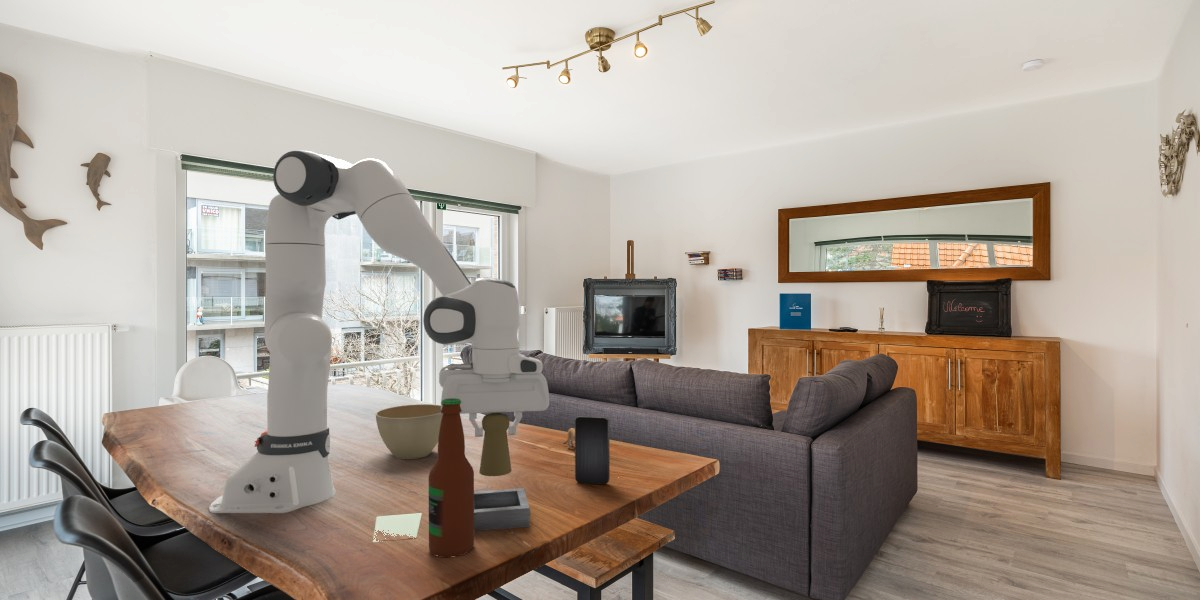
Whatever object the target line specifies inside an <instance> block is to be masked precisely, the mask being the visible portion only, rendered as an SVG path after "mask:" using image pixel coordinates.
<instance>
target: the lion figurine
mask: <svg viewBox="0 0 1200 600" xmlns="http://www.w3.org/2000/svg"><path fill="white" fill-rule="evenodd" d="M574 442H575V427H570V428H569V429H568V431H567V438H566V441H564V442H563V443H562V444H563V445H567V447H566V448H567V449H569V450H570V449H572V448H571V446H575V443H574Z"/></svg>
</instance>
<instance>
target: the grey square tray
mask: <svg viewBox="0 0 1200 600" xmlns="http://www.w3.org/2000/svg"><path fill="white" fill-rule="evenodd" d="M530 511H531V510H530V505H529V501H528V497H527V494H526V490H525V488H524V487H518V488H517V487H515V488H505V489H504V488H503V489H492V490H491V489H489V490H477V491H474V532H479V531H490V530H491V531H492V530H505V529H506V530H507V529H515V528H530V525H531V524H530V523H531V522H530V521H531V517H530V515H531V514H530V513H531V512H530Z"/></svg>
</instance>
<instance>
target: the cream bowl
mask: <svg viewBox="0 0 1200 600" xmlns="http://www.w3.org/2000/svg"><path fill="white" fill-rule="evenodd" d="M442 416H443V413H441V404H431V403H429V404H427V403H426V404H423V403H422V404H421V403H420V404H417V403H416V404H408V405H406V404H404V405H397V406H391V407H387V408H384V409H380V410H378V411H376V413H375V421H376V426H377V430H378V433H379V435H380V438H381V440H382V442H383V444H384V445H385V446H386V447H387V450H389V452H390V453H391V454H392V455H393V456H394V457H396V458H397V459H400V460H416V459H421V458H424V457H427V456H429V455H430V454H431V453H432V451H433V450H434V449H435V448H436V446H437V445H438V437H439V431H440V425H441V420H442Z"/></svg>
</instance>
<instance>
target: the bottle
mask: <svg viewBox="0 0 1200 600" xmlns="http://www.w3.org/2000/svg"><path fill="white" fill-rule="evenodd" d="M441 404H442V410H441V413H443V416H442V420H441V425H440V431H439V437H438V443H437V458H436V460H435V462H434V463H433V465H432V466H431V468H430V469H429V473H428V549H429V551H430V553H431V555H433V554H434V556H435V555H438V556H443V557H442V558H452V557H451V556H456V557H459V556H458V555H460V556H463V555H465V554H467V553H468V551H469V552H470V551H471V550H472V549H473V547H474V545H475V531H474V492H475V470H474V468H473V466H472V464H471V463H470V462H469V460H468V458H467V457H466V454H465V453H466V452H465V449H466V445H465V444H466V443H465V433H464V428H463V423H462V422H463V421H462V417H461V414H460V412H461V411H462V410H461V407H460V404H461V400H460V399H457V398H449V399H444V400H442V402H441V401H440V405H441ZM466 552H467V553H466ZM464 553H465V554H464ZM462 554H463V555H462ZM438 556H437V557H438Z"/></svg>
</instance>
